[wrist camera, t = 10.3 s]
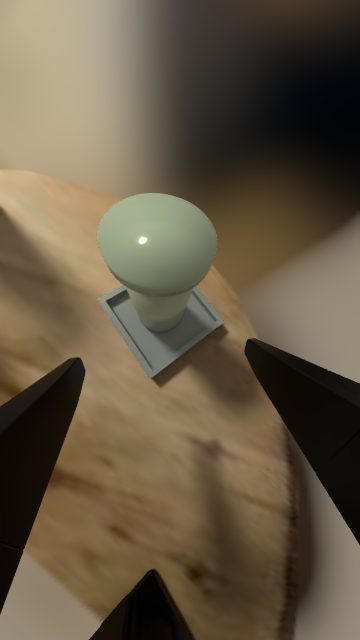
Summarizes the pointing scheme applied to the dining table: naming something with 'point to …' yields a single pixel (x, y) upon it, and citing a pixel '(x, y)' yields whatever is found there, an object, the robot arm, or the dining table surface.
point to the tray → (164, 346)
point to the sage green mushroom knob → (157, 254)
